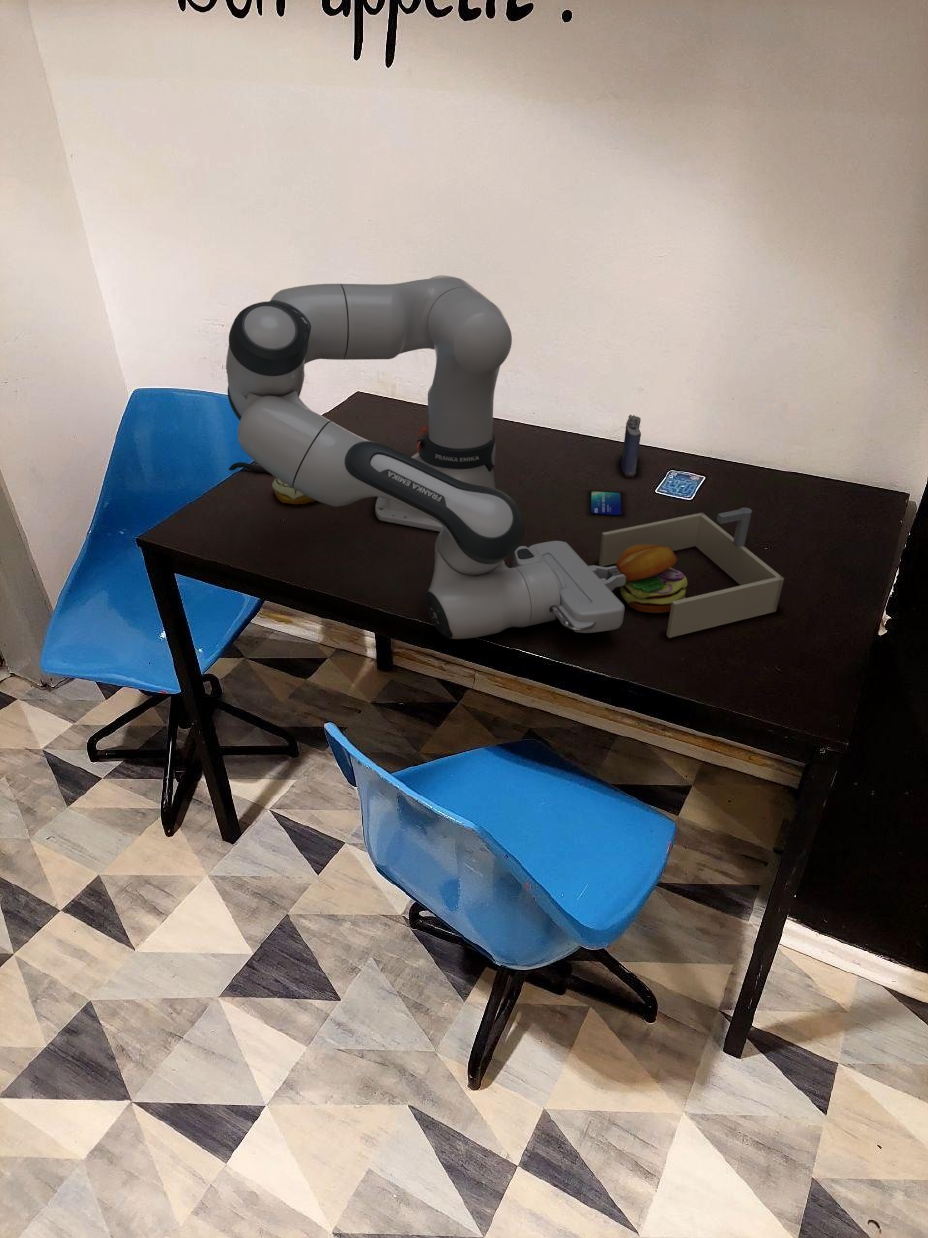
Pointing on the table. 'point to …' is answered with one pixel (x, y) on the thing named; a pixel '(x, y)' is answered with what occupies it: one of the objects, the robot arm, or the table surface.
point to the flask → (631, 446)
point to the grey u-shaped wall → (723, 550)
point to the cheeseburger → (651, 578)
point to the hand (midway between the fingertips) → (620, 575)
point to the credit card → (605, 503)
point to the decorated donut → (289, 493)
